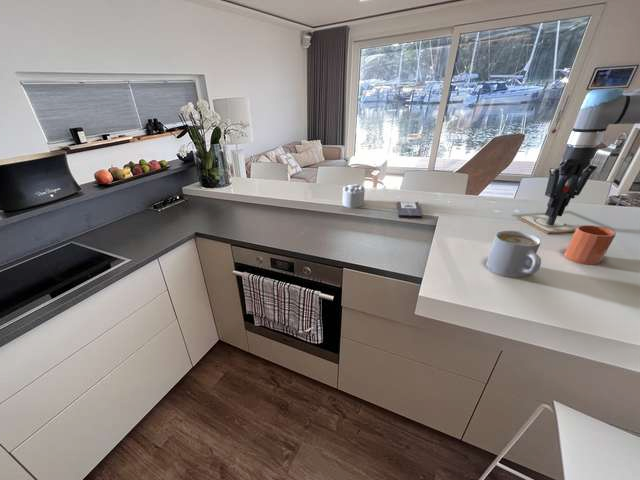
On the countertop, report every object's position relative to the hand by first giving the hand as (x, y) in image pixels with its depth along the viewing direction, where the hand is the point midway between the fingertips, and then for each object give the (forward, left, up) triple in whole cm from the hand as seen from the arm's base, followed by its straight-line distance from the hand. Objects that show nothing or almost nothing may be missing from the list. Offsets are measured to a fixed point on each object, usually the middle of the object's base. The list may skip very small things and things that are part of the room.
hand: (553, 215), depth 103 cm
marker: (0, 0, -3) cm, 3 cm away
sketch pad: (-5, -2, -4) cm, 7 cm away
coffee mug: (+32, +28, -4) cm, 43 cm away
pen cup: (+8, +23, -4) cm, 25 cm away
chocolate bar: (+41, -26, -4) cm, 49 cm away
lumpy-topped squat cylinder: (+63, -41, -4) cm, 75 cm away
